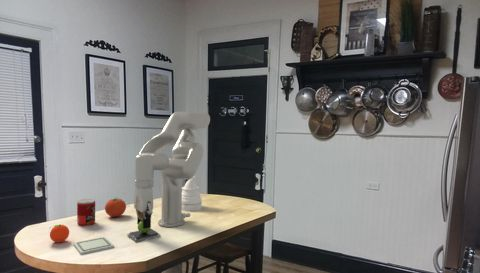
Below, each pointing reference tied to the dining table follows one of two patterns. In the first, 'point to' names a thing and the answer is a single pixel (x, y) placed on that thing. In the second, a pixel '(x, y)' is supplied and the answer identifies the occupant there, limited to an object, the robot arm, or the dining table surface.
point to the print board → (93, 245)
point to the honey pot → (191, 196)
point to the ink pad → (143, 235)
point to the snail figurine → (141, 222)
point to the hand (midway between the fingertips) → (143, 225)
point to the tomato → (115, 207)
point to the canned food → (86, 212)
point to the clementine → (59, 233)
